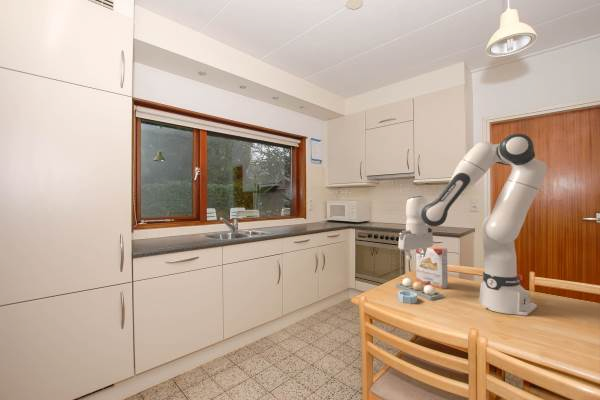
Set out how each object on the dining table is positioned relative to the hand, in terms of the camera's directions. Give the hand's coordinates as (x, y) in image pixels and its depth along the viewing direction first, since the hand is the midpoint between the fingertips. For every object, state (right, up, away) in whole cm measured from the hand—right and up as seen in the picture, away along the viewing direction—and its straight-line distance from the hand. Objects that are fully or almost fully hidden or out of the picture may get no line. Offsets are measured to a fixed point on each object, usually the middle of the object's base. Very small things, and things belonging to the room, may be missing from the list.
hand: (415, 257), depth 132 cm
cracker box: (+13, -18, +10) cm, 24 cm away
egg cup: (-8, -18, -10) cm, 22 cm away
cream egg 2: (+4, -17, -6) cm, 18 cm away
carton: (+1, -18, 0) cm, 18 cm away
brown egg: (+1, -17, 0) cm, 17 cm away
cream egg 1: (-2, -17, +6) cm, 18 cm away
